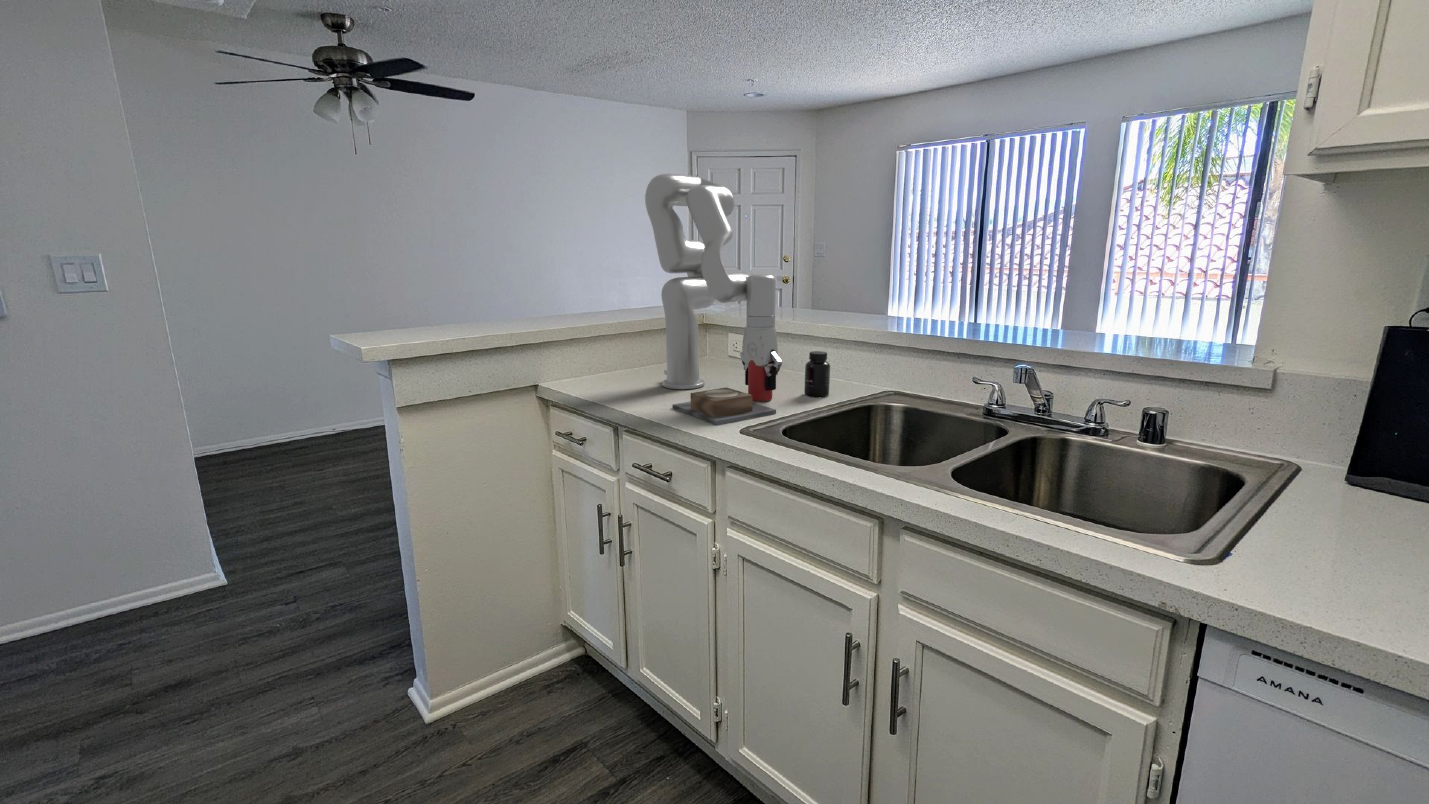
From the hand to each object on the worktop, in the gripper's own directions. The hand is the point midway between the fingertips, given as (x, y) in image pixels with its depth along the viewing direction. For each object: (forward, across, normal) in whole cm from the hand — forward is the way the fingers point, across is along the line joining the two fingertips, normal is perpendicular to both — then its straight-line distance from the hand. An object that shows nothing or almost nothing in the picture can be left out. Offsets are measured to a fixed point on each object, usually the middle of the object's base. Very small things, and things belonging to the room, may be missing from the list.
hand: (760, 387), depth 180 cm
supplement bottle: (+4, +5, +16) cm, 17 cm away
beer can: (+4, 0, 0) cm, 4 cm away
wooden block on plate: (+3, +4, -15) cm, 16 cm away
